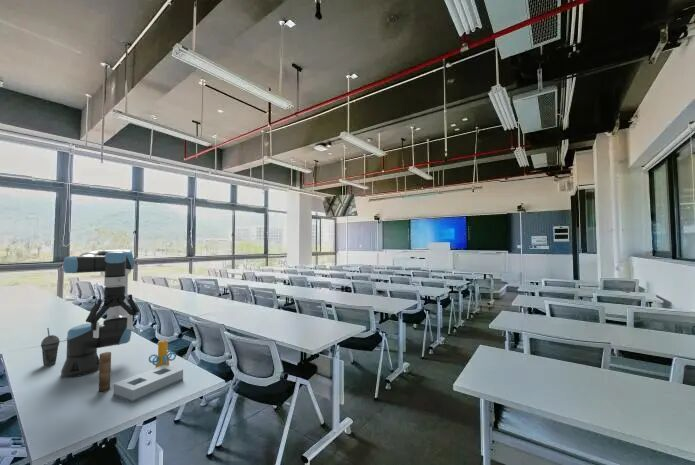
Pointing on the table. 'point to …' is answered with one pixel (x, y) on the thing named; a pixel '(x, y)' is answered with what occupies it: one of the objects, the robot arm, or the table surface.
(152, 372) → the hole block
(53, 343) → the beverage cup
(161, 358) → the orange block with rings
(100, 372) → the pin
